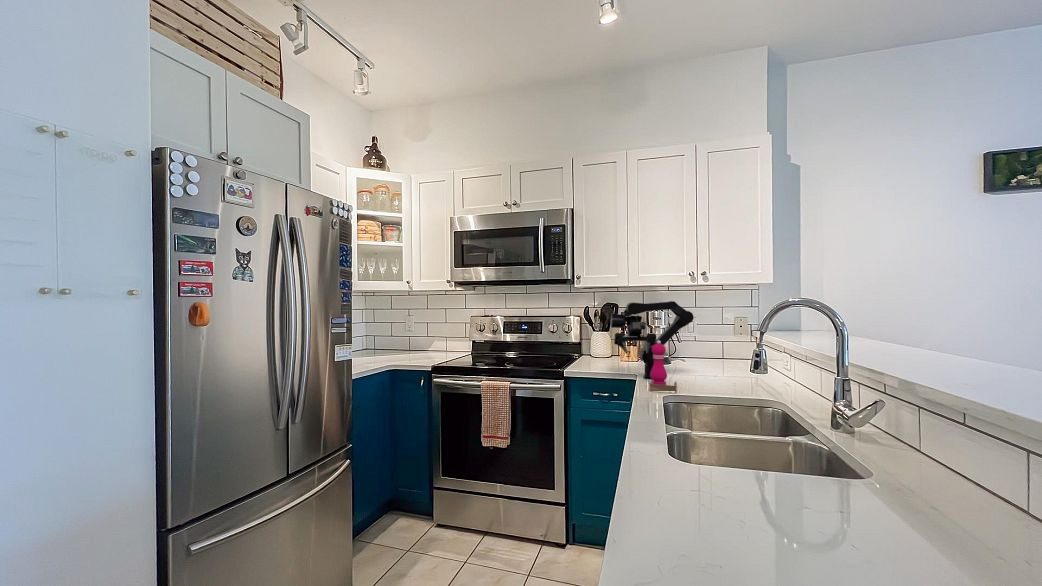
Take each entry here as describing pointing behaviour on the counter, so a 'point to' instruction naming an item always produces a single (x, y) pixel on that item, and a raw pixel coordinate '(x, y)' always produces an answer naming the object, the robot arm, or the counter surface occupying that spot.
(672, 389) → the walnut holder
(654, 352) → the pepper mill
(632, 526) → the counter surface
